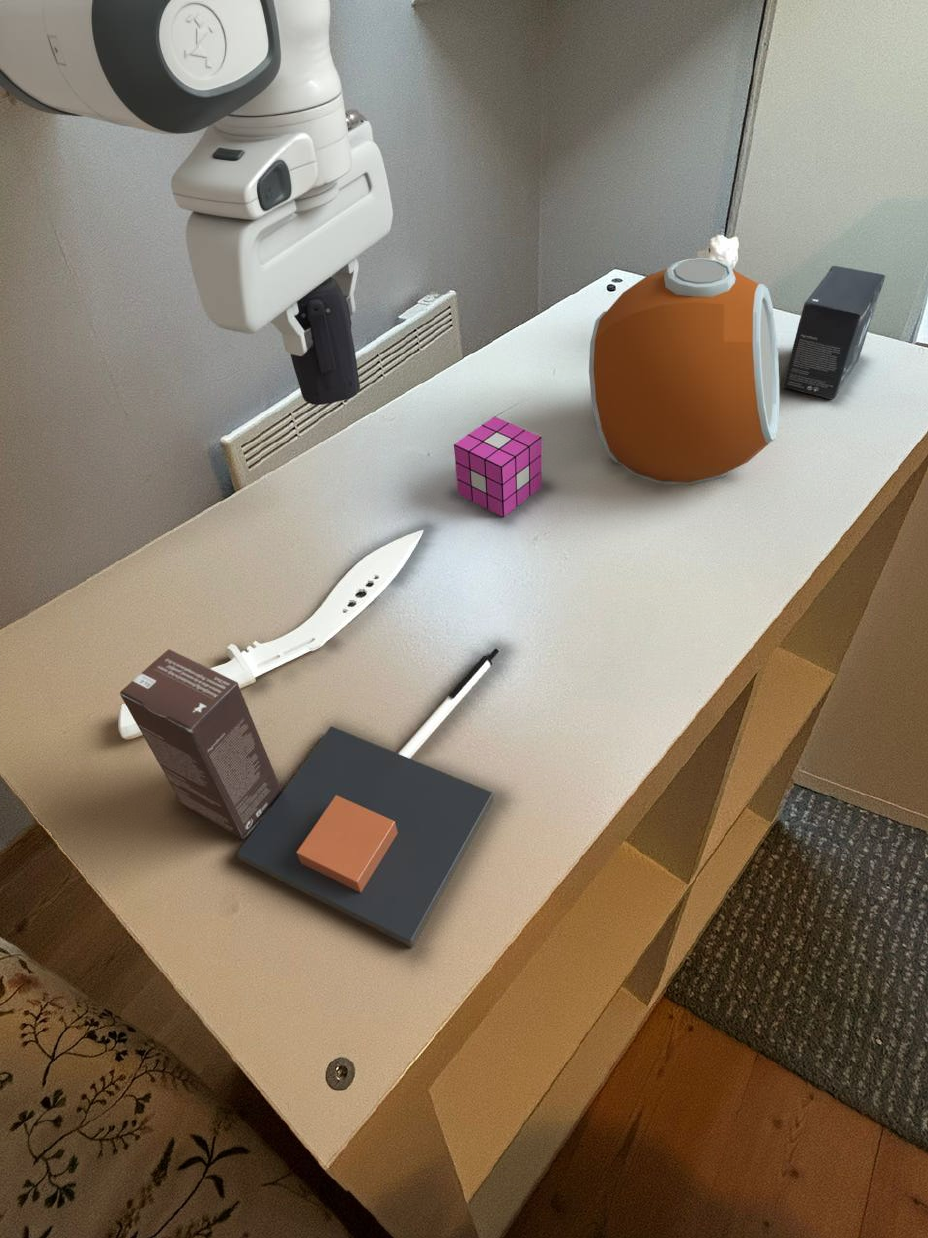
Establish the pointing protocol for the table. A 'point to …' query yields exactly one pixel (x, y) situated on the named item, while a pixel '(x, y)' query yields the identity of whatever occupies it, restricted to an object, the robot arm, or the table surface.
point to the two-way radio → (327, 347)
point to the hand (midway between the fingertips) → (322, 333)
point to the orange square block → (347, 843)
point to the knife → (310, 621)
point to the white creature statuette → (722, 250)
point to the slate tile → (395, 788)
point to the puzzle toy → (498, 465)
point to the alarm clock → (686, 373)
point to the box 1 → (204, 741)
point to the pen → (447, 705)
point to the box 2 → (832, 331)
